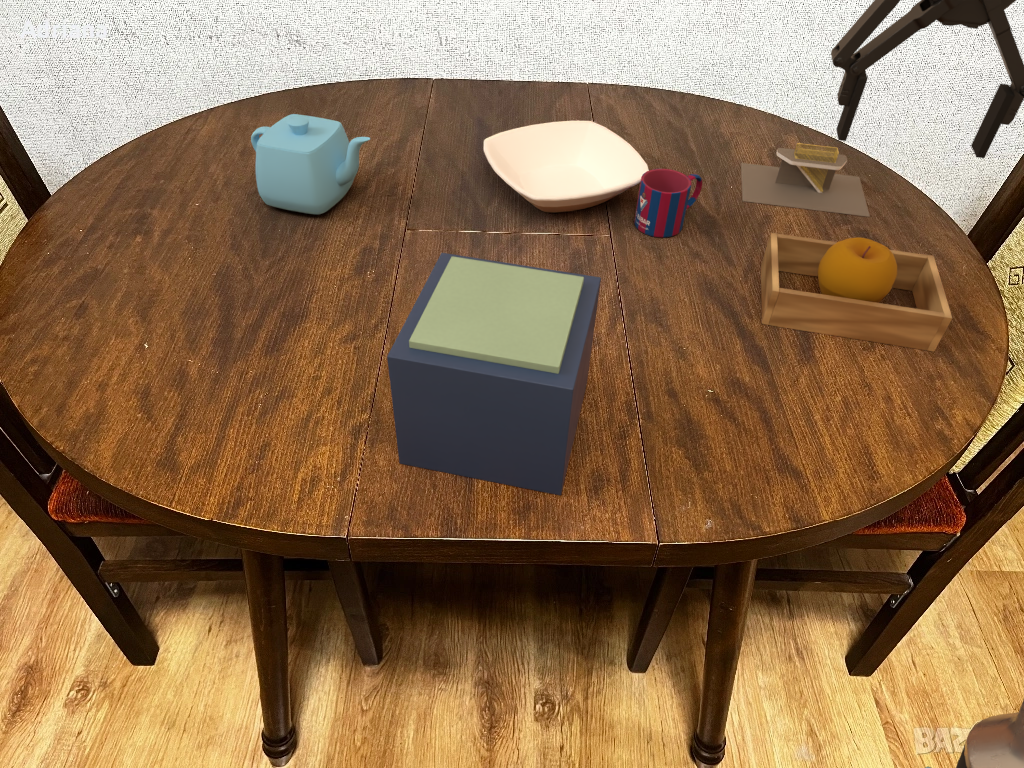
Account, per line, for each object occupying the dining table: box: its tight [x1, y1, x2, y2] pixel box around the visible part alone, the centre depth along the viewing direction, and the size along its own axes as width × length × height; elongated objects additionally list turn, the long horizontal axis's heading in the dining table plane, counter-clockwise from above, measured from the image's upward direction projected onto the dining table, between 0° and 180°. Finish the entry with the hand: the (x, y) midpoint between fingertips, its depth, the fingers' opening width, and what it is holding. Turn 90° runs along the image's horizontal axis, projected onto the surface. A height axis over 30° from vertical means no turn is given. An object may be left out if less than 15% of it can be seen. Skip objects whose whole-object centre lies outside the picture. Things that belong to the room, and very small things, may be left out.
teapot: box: [250, 113, 371, 215], centre depth 105 cm, size 12×18×12 cm
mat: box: [409, 257, 584, 374], centre depth 69 cm, size 13×13×1 cm
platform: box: [740, 142, 871, 218], centre depth 113 cm, size 12×18×7 cm, turn 79°
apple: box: [817, 237, 897, 303], centre depth 91 cm, size 8×8×9 cm
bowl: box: [483, 120, 650, 213], centre depth 111 cm, size 22×22×5 cm
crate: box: [386, 252, 602, 496], centre depth 74 cm, size 16×16×14 cm
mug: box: [633, 168, 703, 239], centre depth 105 cm, size 7×10×7 cm
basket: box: [760, 232, 953, 352], centre depth 93 cm, size 13×20×5 cm, turn 77°
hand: (908, 143), depth 80 cm, fingers open, 13 cm apart
